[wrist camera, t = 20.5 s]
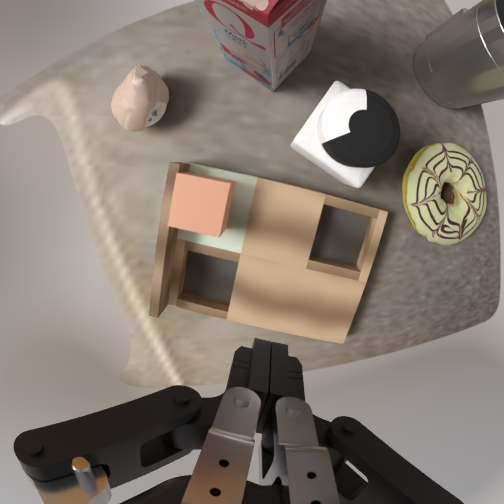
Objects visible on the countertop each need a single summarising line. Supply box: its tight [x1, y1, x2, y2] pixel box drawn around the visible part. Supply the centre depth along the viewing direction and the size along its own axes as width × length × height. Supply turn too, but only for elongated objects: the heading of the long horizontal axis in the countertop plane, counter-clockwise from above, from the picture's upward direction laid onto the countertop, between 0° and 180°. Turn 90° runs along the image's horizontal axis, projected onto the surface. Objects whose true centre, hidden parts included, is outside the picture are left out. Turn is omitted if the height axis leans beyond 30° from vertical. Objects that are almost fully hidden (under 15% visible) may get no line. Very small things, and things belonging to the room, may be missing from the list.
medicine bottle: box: [291, 81, 400, 188], centre depth 25 cm, size 7×7×12 cm
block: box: [168, 172, 236, 238], centre depth 29 cm, size 5×5×4 cm
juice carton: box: [195, 0, 326, 92], centre depth 18 cm, size 7×7×22 cm
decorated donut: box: [402, 143, 487, 245], centre depth 30 cm, size 11×12×4 cm
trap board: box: [149, 162, 388, 344], centre depth 32 cm, size 16×22×6 cm
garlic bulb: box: [111, 64, 169, 131], centre depth 28 cm, size 7×6×8 cm
